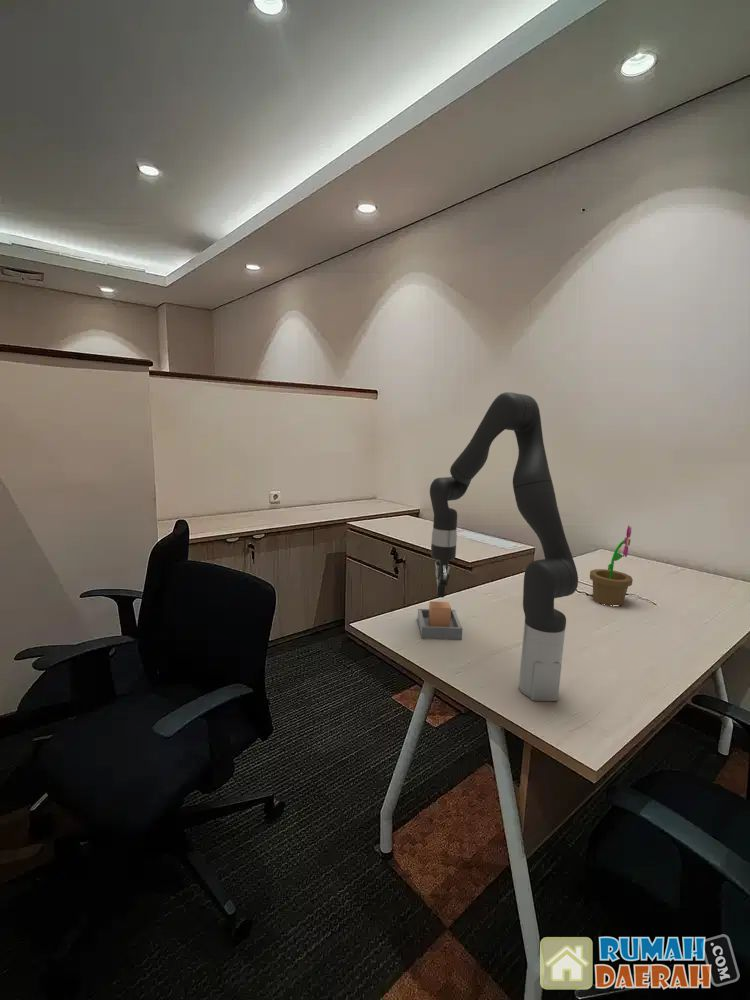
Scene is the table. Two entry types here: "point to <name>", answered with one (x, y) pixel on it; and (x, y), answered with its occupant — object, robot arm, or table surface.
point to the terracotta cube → (439, 614)
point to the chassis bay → (436, 631)
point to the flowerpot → (612, 579)
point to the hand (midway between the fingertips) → (440, 596)
